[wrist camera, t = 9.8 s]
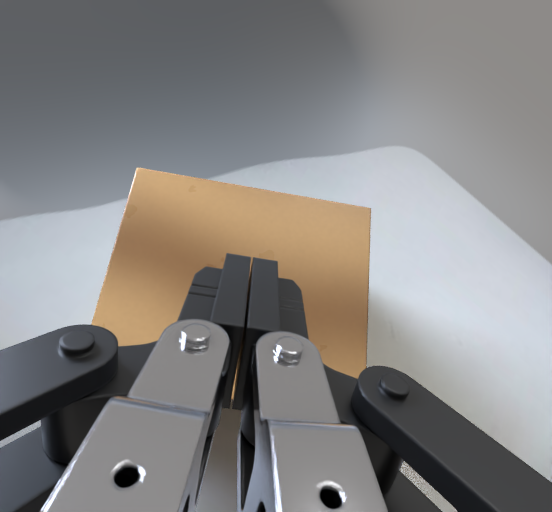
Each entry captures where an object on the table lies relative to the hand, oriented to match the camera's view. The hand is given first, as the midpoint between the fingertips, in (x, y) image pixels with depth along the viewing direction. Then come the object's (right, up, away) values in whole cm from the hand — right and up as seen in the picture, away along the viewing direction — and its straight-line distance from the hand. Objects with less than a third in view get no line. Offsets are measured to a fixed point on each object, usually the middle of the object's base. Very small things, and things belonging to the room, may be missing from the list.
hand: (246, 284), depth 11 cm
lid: (-1, -1, +9) cm, 9 cm away
